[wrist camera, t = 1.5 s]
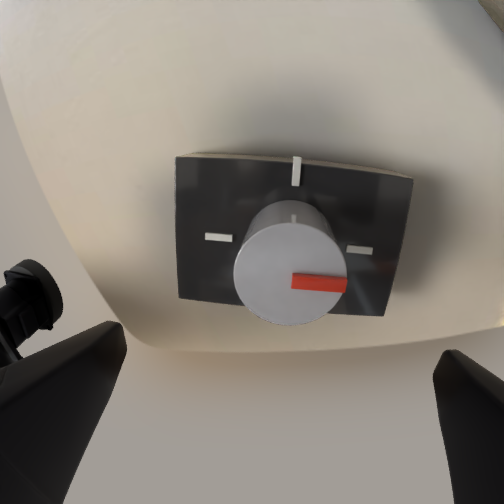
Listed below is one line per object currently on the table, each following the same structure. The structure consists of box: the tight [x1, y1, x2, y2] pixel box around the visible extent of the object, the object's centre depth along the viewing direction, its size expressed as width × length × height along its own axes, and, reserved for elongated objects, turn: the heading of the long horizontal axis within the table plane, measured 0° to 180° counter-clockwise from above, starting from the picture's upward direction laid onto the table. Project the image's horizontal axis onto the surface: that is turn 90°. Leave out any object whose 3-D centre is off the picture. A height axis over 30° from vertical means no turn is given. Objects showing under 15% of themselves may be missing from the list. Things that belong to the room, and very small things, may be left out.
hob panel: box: [175, 153, 413, 316], centre depth 17 cm, size 12×9×3 cm
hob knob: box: [233, 200, 347, 325], centre depth 13 cm, size 4×4×4 cm
